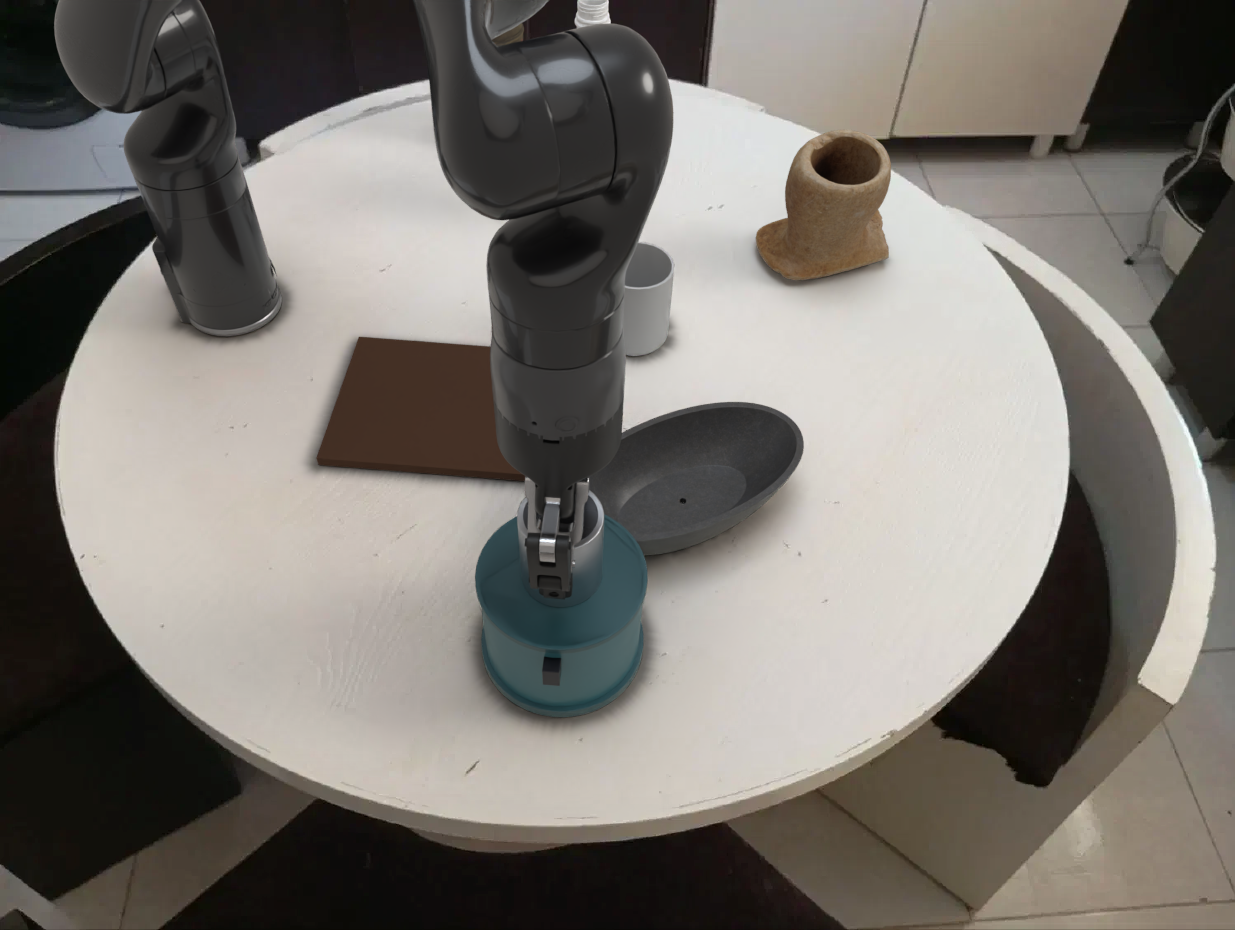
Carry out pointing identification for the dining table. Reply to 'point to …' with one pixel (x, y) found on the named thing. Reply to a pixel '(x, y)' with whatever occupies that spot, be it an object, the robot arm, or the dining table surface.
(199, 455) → the dining table surface
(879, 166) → the stone cup
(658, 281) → the cup
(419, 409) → the mat
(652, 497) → the bowl
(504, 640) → the teal round canister
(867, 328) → the dining table surface
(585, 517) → the silver cup
